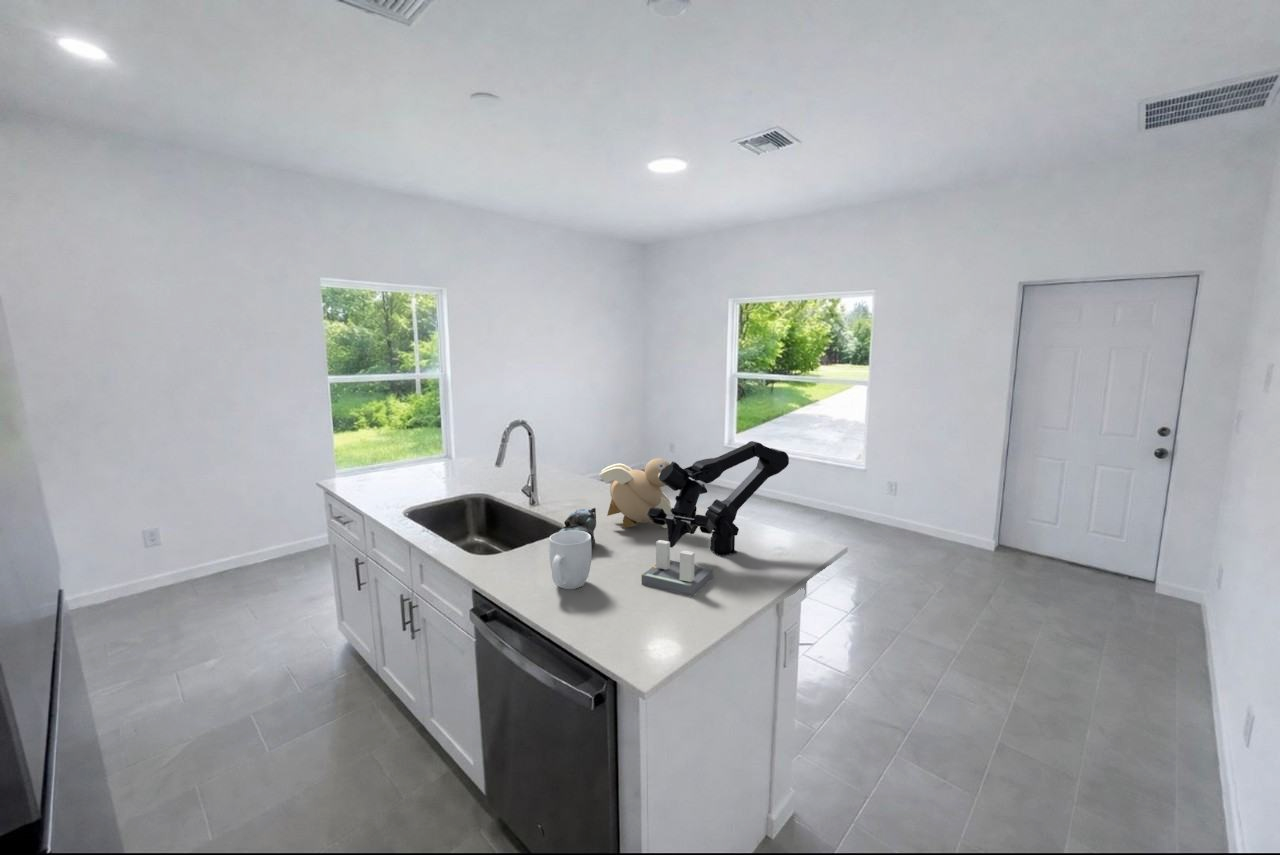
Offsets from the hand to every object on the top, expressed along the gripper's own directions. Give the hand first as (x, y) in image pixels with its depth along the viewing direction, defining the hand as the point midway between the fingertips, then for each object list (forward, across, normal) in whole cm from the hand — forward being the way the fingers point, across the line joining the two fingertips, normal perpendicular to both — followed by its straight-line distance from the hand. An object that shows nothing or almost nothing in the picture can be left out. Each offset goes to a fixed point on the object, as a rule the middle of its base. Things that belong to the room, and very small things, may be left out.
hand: (670, 546), depth 150 cm
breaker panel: (+8, -5, -2) cm, 10 cm away
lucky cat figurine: (+3, +35, -8) cm, 36 cm away
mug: (+21, +19, +10) cm, 30 cm away
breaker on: (+9, -9, +3) cm, 13 cm away
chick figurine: (-17, +29, -27) cm, 43 cm away
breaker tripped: (+6, 0, 0) cm, 6 cm away
